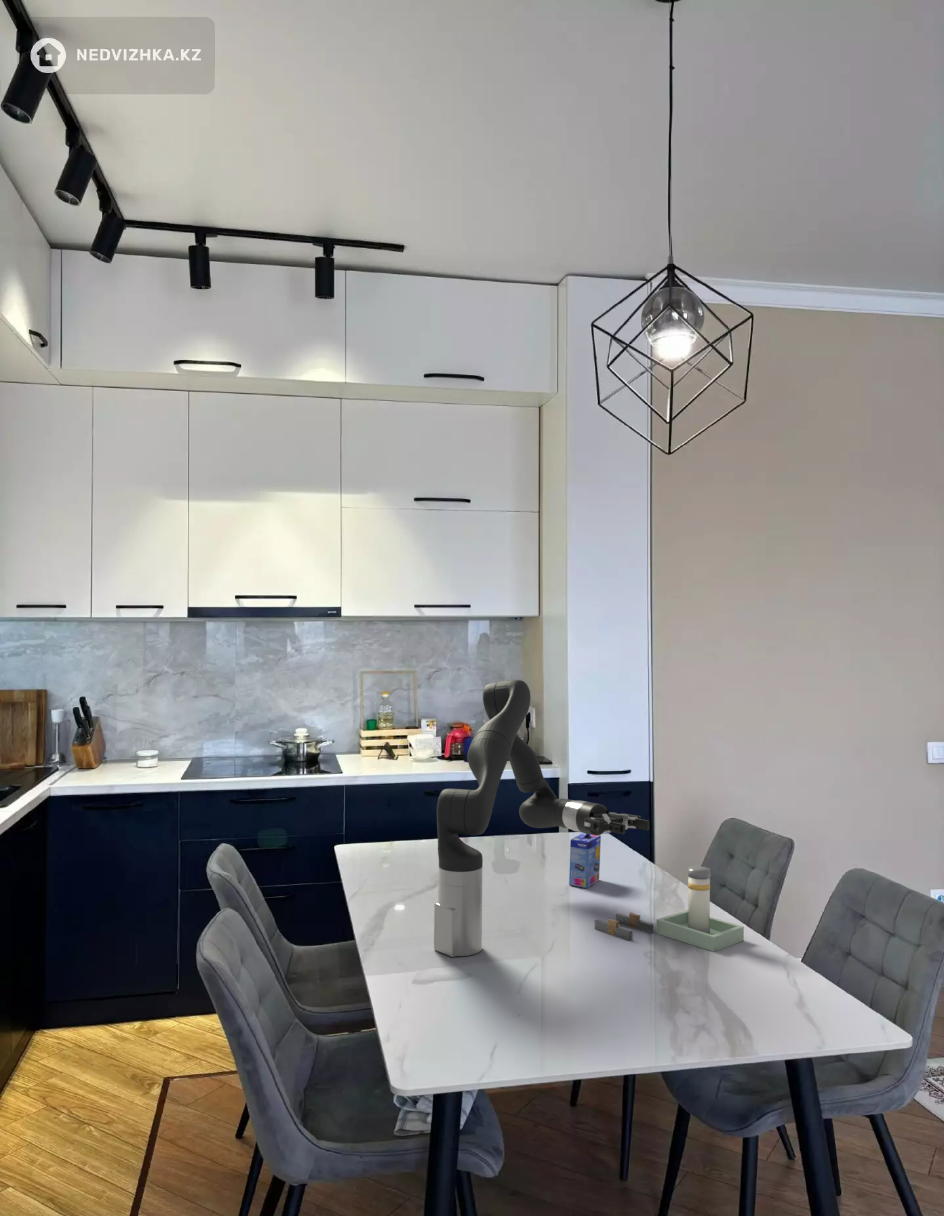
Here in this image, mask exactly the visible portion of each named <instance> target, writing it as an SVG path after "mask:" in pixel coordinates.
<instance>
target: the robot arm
mask: <svg viewBox="0 0 944 1216" xmlns="http://www.w3.org/2000/svg"><path fill="white" fill-rule="evenodd" d="M529 687H530V686H528V684H527V682H525V681H524V680H522V679H510V680H509V679H508V680H503V681H496V682H492V683H488V684H486V685H485V687H483V692H482V703H483V708H484V711H485V712H486V716H487V718H488V719H489V720H488V721H486V723H484V724H483V725H482V726H481V727H479V729H478V730H477V731H476V733H475V734H474V736H473V738H472V741H471V743H470V745H469V748H468V751H467V755H466V757H467V758H466V759H467V763H468V766H469V769H470V771H471V773H472V775H473V776H474V778H475V779H476V781H477V783H478V788H477V789H461V788H445V789H443V790H442V791H441V792H440V793H439V796H438V797H437V804H436V827H437V829H436V831H437V854H438V855H437V856H438V888H437V889H438V895H437V896H438V898H437V899H438V900H437V901H438V902H436V903H435V904H434V907H433V909H434V910H433V911H434V913H433V915H434V916H433V919H434V920H433V922H434V923H433V924H434V925H433V950H434V951H437V952H439V953H442V954H443V955H446V956H448V957H451V958H454V957H468V956H473V955H476V954H478V953H480V952H481V951H482V946H483V944H482V943H483V941H482V940H483V854H482V853H481V851H479V850H478V849H476V848H474V847H473V846H472V847H471V846H470V845H469V844H467V843H466V842H464V841H463V840H462V839H461V838H460V836H459V835H468V836H478V835H482V834H484V833H485V831H486V829H487V828H488V826H489V824H490V823H489V822H490V820H491V815H492V812H493V808H494V804H495V800H496V796H497V791H498V788H499V784H500V782H501V778H502V776H503V774H504V771H505V768H506V765H507V764H508V761H509V765H510V767H511V770H512V773H513V776H514V779H515V782H516V785H517V787H518V790H519V791H520V792H522V793H524V794H526V793H527V794H531V793H533V794H532V795H531V796H530V797H528V798H527V799H526V800H525V801H523V802H522V804H521V805H520V806H519V809H518V811H519V812H518V814H519V817H520V819H521V821H522V822H523V823H524V824H525V825H527V826H528V827H531V828H536V829H545V828H554V827H561V828H564V829H569V830H572V831H573V832H577V833H581V834H582V833H586V834H591V835H595V836H598V835H600V836H602V834H604V833H608V834H609V833H614V834H619V835H624V834H626V830H628V829H635V830H636V829H638V830H643V831H649V830H650V825H651V823H650V821H649V820H647V819H642V817H641V816H640V815H634V814H629V813H624V812H621V813H617V812H609V811H608V809H607V807H606V806H605V805H603V804H600V803H596V802H590V801H586V800H585V801H584V800H573V799H569V798H558V797H557V795H556V794H555V793H554V791H553V789H552V788H551V787H550V785H549V784H548V782H547V781H546V779H545V777H544V775H543V772H542V771H543V770H542V767H541V765H540V761H539V759H538V757H537V755H536V753H535V751H534V750H533V748H531V747H530V745H528V743H527V742H525V741H524V740H523V739H522V738H521V737H520V736H519V735H518V732H519V730H520V728H521V726H522V724H523V722H524V720H525V718H526V716H527V715H528V712H529V709H530V705H531V698H532V697H531V691H530V688H529Z"/></svg>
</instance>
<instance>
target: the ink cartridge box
mask: <svg viewBox="0 0 944 1216" xmlns="http://www.w3.org/2000/svg"><path fill="white" fill-rule="evenodd" d="M601 839H602V835H598V836H595V835H591V834H586V833H582V832H581V833H580V834H579V835H577V836H575V837H573V838H571V839H570V844H569V845H570V847H569V874H568V875H569V877H568V885H569V886H572V887H579V888H584V889H588V888H589V887H591V886H592V885H594V884H596V883H597V882H600V871H601V870H600V868H601V866H600V864H601Z"/></svg>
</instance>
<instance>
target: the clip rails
mask: <svg viewBox="0 0 944 1216" xmlns="http://www.w3.org/2000/svg"><path fill="white" fill-rule="evenodd" d="M620 925H622V926H620ZM623 926H626V927H629V928H631V929H628V928H625V927H623ZM594 929H595V930H597V931H600V932H602V933H606V934H609V935H612V936H615V937H617V938H621V939H623V940H627V941H633V930H632V929H635V930H638V931H641V932H644V933H647V934H649V935H651V934H654V923H653V922H649V921H645V920H642V919H641V914H637V913H634V912H629V913H628V915H626V914H625V913H624V914H623V913H620V912H617V913H615V919H614V918H613V919H612V918H609V919H607V921H604V920H602V919H599V918H598V919H597V918H596V919H594Z"/></svg>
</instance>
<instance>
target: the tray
mask: <svg viewBox="0 0 944 1216" xmlns="http://www.w3.org/2000/svg"><path fill="white" fill-rule="evenodd" d="M655 924H656V925H655V926H656V929H655V930H656V931H655V932H656V934H658V935H661V936H664V937H666V938H670V939H673V940H675V941H676V940H677V941H680V942H682V943H685V944H688V945H691V946H695V947H698V948H701V949H704V950H707V951H710V952H713V953H714V952H716V951H719V950H723V949H725V948H728V947H730V946H733V945H735V944H738V943H741V942H743V941H745V940H744V939H745V937H744V935H745V934H744V933H745V932H744V930H745V926H744V925H743V926H742V925H739V924H736V923H732V922H729V921H726V920H722V919H719V918H715V917H711V916H710V934H707V933H704V932H701V931H698V930H694V929H691V928H688V910H687V909H685V910H682V911H680V912H677V913H673V914H670V915H667V916H662V917H660V918H656V923H655Z"/></svg>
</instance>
